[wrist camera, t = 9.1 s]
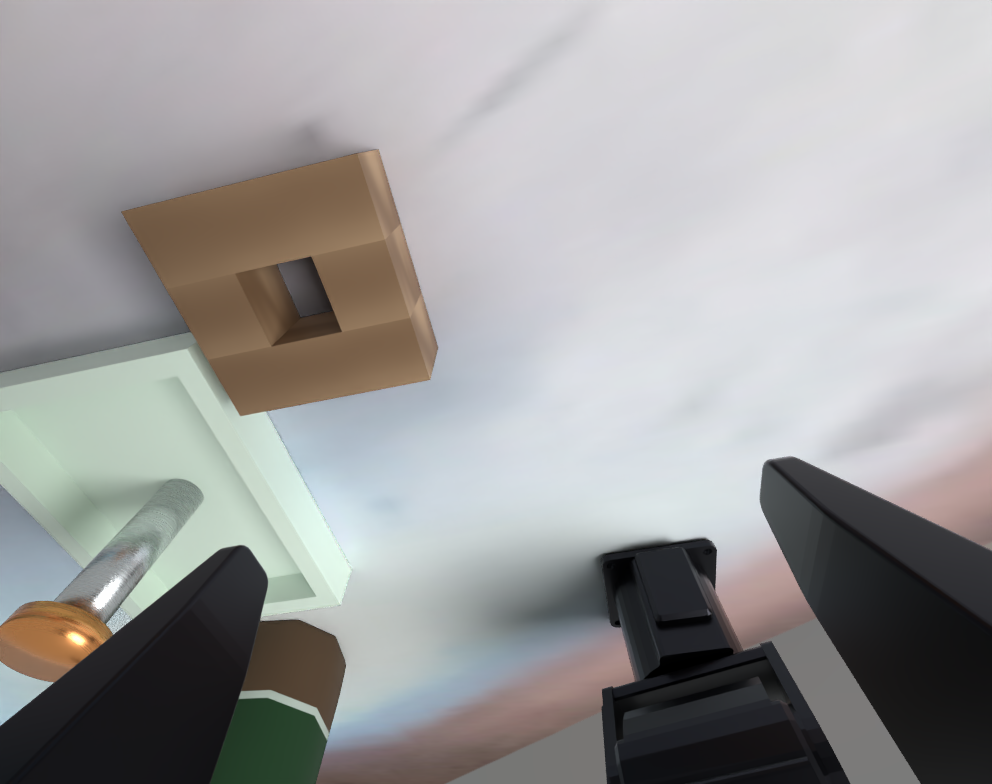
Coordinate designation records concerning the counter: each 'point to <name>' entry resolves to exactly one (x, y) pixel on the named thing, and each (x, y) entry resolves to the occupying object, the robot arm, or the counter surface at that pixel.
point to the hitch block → (265, 298)
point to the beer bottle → (283, 707)
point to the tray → (162, 469)
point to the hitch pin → (95, 590)
